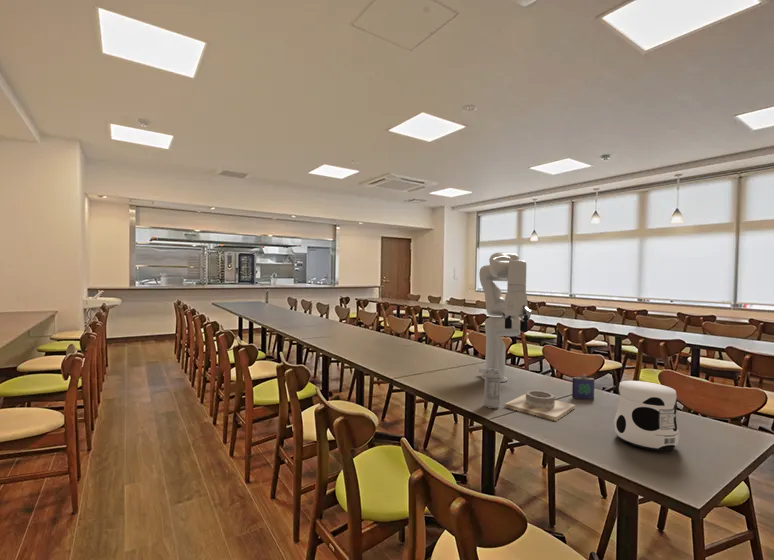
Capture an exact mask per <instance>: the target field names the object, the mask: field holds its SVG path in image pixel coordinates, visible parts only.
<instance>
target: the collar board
mask: <svg viewBox="0 0 774 560" xmlns="http://www.w3.org/2000/svg"><path fill="white" fill-rule="evenodd" d="M504 408H505V409H508V408H509V410H512V409H513V411H516V410H517V412H520V411H521V412H520V413H523V412H525V413H524V414H527V413H529V414H528V415H531V414H533V415H532V416H534V415H536V417H538V416H539V418H542V417H543V419H546V420H549V419H550V420H549V421H553V420H554V421H553V422H557V421H559V420H560V419H561V417H562V418H563V417H564V415H565V416H566V415H568V414H569V413H571V412H572V411H573V409H574V408H576V405H575V404H573V403H568V402H565V401H564V402H563V401H560V400H556V397H555V395H554V393H553V394H552V393H550V392H548V391H544V390H536V389H535V390H533V389H532V390H527V391H526V392H525V394H522V395H520V396H518V397H516V398H513V399H512V400H509V401H508V402H505V403H504ZM571 410H572V411H571ZM574 410H575V409H574ZM570 411H571V412H570ZM567 413H568V414H567ZM558 419H559V420H558Z"/></svg>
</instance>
